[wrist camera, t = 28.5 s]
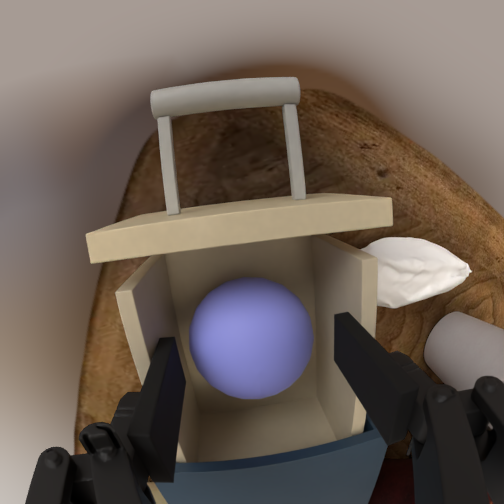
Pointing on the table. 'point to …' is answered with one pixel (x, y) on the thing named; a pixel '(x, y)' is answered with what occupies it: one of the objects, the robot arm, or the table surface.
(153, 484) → the apple
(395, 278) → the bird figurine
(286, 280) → the drawer
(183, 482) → the cabinet
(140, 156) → the table surface
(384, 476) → the vase
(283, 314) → the sphere
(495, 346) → the coffee cup
